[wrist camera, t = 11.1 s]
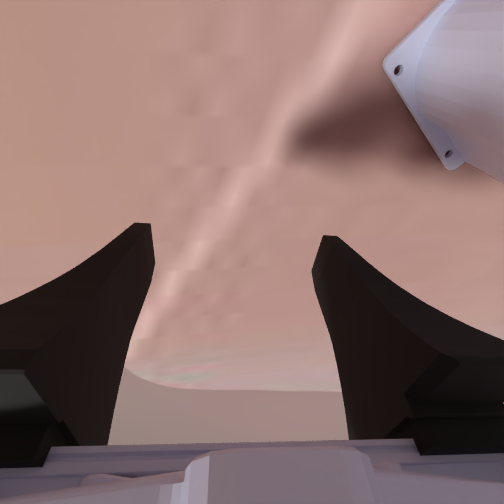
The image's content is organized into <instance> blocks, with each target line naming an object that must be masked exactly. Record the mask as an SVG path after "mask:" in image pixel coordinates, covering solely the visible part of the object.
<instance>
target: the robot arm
mask: <svg viewBox="0 0 504 504" xmlns="http://www.w3.org/2000/svg"><path fill="white" fill-rule="evenodd" d="M398 65H400V71H399V72H398V73H397V74H396V75H395V74H394V69H395V68H396V66H398ZM383 69H384V71H385V73H386V74H387V76H388V78H389V79H390V81H391V82H392V84H393V86H394V87H395V89H396V90H397V92H398V94H399V95H400V97H401V98H402V100H403V101H404V103H405V105H406V106H407V108H408V109H409V111H410V113H411V114H412V116H413V117H414V119H415V121H416V122H417V124H418V125H419V127H420V129H421V130H422V132H423V133H424V135H425V136H426V138H427V140H428V141H429V143H430V144H431V146H432V148H433V149H434V151H435V152H436V154H437V156H438V157H439V159H440V160H441V162H442V164H443V165H444V167H445V168H447V169H448V170H454V169H456V168H458V167H459V166H461V165H462V164H463V163H465V162H467V163H468V164H470V165H472V166H474V167H475V168H477V169H479V170H481V171H482V172H484V173H486V174H488V175H489V176H491V177H493V178H495V179H496V180H498V181H500V182H502V183H503V184H504V0H442V1H441V2H440V3H439V4H438V5H437V6H436V7H435V8H434V9H433V10H432V11H431V12H430V13H429V14H428V15H427V16H426V17H425V18H424V19H423V20H422V21H421V22H420V23H419V24H418V25H417V26H416V27H415V28H414V29H413V30H412V31H411V32H410V33H409V34H408V35H407V36H406V37H405V38H404V39H403V40H402V41H401V42H400V43H399V44H398V45H397V46H396V47H395V48H394V49H393V50H392V51H391V52H390V53H389V54H388V55H387V56H386V57H385V59H384V61H383ZM447 151H449V153H448V154H447V155H445V153H446V152H447ZM154 266H155V257H154V249H153V240H152V232H151V224H149V223H134V224H132V225H131V226H130V227H129V228H127V229H126V230H125V231H124V232H122V233H121V234H120V235H119V236H117V237H116V238H115V239H114V240H112V241H111V242H110V243H109V244H107V245H106V246H105V247H103V248H102V249H101V250H99V251H98V252H97V253H95V254H94V255H92V256H91V257H89V258H88V259H87V260H85V261H84V262H82V263H81V264H79V265H78V266H76V267H75V268H73V269H71V270H70V271H68V272H66V273H65V274H63V275H61V276H59V277H58V278H56V279H54V280H52V281H50V282H48V283H46V284H44V285H42V286H40V287H38V288H36V289H34V290H32V291H30V292H28V293H26V294H24V295H22V296H20V297H18V298H15V299H13V300H11V301H8V302H6V303H4V304H1V305H0V504H504V404H503V402H504V340H502V339H499V338H497V337H495V336H492V335H490V334H487V333H485V332H482V331H480V330H478V329H475V328H473V327H471V326H469V325H467V324H465V323H463V322H461V321H458V320H456V319H454V318H452V317H450V316H448V315H446V314H445V313H443V312H441V311H439V310H437V309H435V308H434V307H432V306H430V305H428V304H426V303H425V302H423V301H421V300H420V299H418V298H416V297H415V296H413V295H412V294H410V293H409V292H407V291H405V290H404V289H402V288H401V287H399V286H398V285H397V284H395V283H394V282H392V281H391V280H390V279H388V278H387V277H386V276H384V275H383V274H382V273H380V272H379V271H378V270H377V269H375V268H374V267H373V266H372V265H371V264H369V263H368V262H367V261H366V260H365V259H363V258H362V257H361V256H360V255H359V254H358V253H357V252H355V251H354V250H353V249H352V248H351V247H350V246H348V245H347V244H346V243H345V242H344V241H343V240H341V239H340V238H339V237H337V236H328V235H323V237H322V240H321V243H320V246H319V249H318V252H317V255H316V259H315V262H314V265H313V268H312V277H313V283H314V288H315V292H316V295H317V298H318V301H319V304H320V307H321V310H322V313H323V316H324V319H325V322H326V325H327V328H328V331H329V334H330V337H331V341H332V344H333V349H334V353H335V358H336V362H337V367H338V373H339V378H340V383H341V388H342V394H343V401H344V406H345V413H346V420H347V428H348V435H349V440H328V441H286V442H242V443H241V442H240V443H196V444H154V445H153V444H152V445H107V444H108V439H109V434H110V429H111V423H112V418H113V413H114V408H115V404H116V399H117V394H118V389H119V385H120V381H121V376H122V372H123V368H124V363H125V359H126V355H127V351H128V347H129V343H130V340H131V336H132V333H133V330H134V327H135V325H136V322H137V319H138V317H139V314H140V311H141V309H142V306H143V303H144V301H145V298H146V295H147V292H148V290H149V287H150V284H151V280H152V275H153V271H154Z"/></svg>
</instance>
